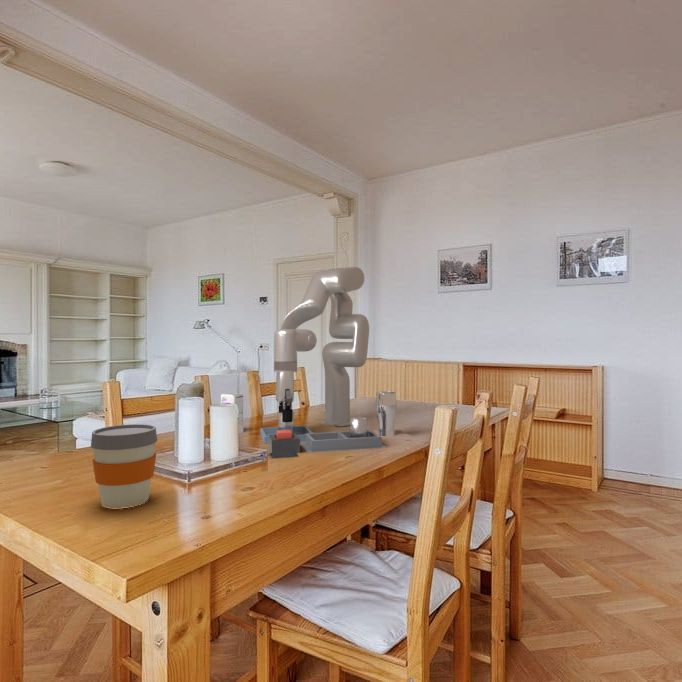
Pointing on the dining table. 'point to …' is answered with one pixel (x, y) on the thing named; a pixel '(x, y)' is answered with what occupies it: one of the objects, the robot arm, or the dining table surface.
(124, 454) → the reusable coffee cup
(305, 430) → the tray
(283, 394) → the robot arm
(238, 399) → the syrup box
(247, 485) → the dining table surface
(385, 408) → the beer glass
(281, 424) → the billet
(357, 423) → the seated billet
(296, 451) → the box
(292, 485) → the dining table surface
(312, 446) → the grey divided tray
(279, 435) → the button
